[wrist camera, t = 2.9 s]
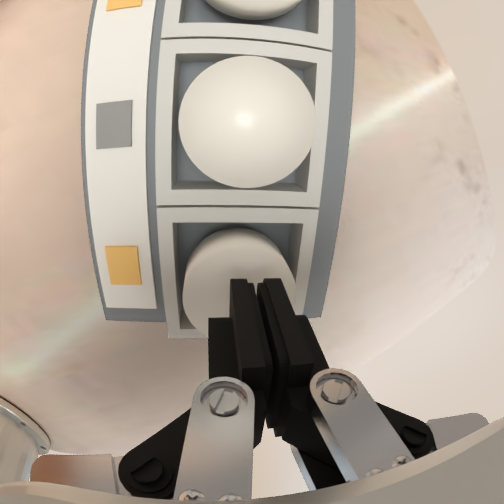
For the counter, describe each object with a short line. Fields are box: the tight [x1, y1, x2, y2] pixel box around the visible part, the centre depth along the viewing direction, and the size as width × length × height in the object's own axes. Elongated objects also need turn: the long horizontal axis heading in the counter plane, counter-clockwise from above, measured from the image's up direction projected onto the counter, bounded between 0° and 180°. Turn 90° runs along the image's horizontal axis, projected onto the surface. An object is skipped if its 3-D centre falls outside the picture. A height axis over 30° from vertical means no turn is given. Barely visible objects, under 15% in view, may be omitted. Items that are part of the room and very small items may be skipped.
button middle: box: [178, 56, 316, 188], centre depth 10 cm, size 4×4×2 cm
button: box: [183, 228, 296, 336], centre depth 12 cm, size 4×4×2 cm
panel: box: [81, 0, 355, 339], centre depth 12 cm, size 20×12×4 cm, turn 177°
